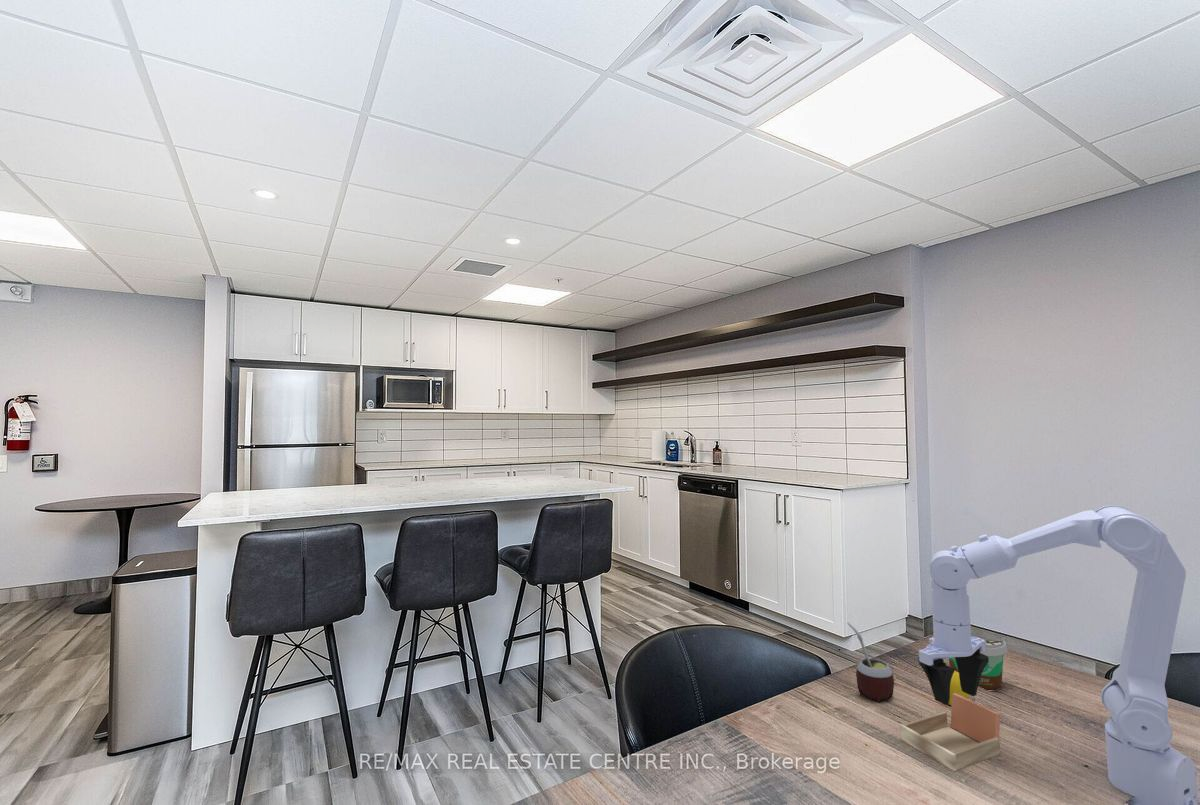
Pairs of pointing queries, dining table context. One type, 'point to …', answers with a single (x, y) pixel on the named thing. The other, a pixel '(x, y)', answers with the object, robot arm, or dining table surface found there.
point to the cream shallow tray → (946, 742)
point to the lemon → (956, 687)
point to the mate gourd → (873, 676)
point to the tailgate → (974, 719)
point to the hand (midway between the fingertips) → (955, 697)
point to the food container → (990, 665)
